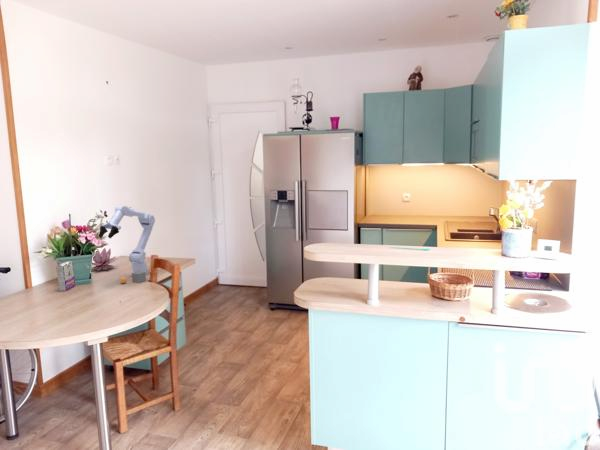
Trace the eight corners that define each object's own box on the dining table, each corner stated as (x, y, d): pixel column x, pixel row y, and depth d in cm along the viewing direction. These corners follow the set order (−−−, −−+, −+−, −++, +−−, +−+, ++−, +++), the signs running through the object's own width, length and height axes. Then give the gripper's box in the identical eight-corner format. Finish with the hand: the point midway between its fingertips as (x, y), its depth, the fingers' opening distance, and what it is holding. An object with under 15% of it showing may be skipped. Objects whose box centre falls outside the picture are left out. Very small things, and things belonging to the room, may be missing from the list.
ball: (123, 282, 294) (122, 276, 294) (127, 282, 293) (127, 276, 292) (118, 284, 291) (118, 278, 290) (123, 284, 289) (123, 278, 289)
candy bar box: (67, 286, 289) (65, 261, 286) (75, 285, 289) (73, 261, 286) (58, 291, 278) (55, 265, 275) (66, 291, 278) (63, 265, 275)
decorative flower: (123, 266, 338) (122, 247, 335) (104, 274, 317) (102, 253, 315) (100, 265, 343) (98, 246, 341) (79, 272, 323) (77, 252, 321)
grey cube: (138, 279, 300) (138, 271, 299) (146, 280, 297) (145, 271, 297) (132, 282, 294) (131, 273, 293) (139, 282, 292) (139, 274, 291)
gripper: (102, 216, 289) (91, 232, 281) (120, 217, 284) (109, 233, 276) (108, 223, 294) (98, 239, 286) (126, 224, 289) (116, 240, 281)
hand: (104, 237), depth 282 cm, fingers open, 7 cm apart
